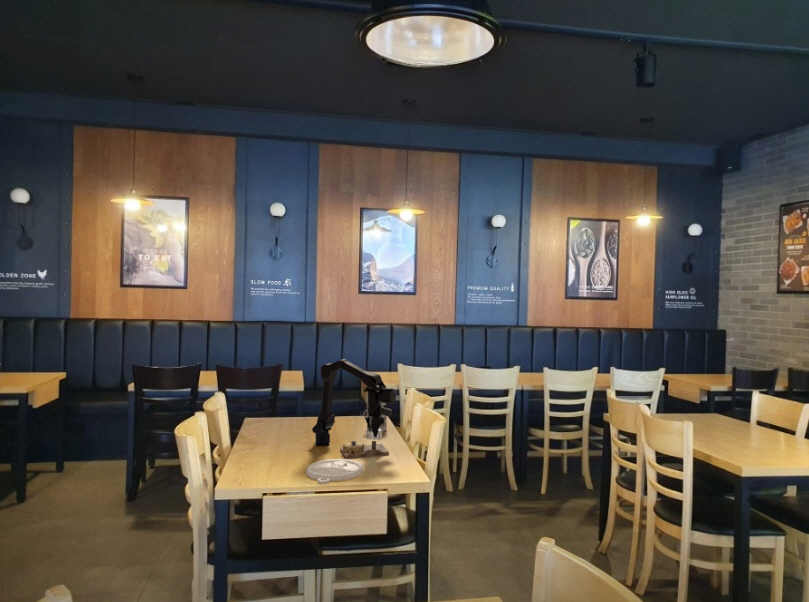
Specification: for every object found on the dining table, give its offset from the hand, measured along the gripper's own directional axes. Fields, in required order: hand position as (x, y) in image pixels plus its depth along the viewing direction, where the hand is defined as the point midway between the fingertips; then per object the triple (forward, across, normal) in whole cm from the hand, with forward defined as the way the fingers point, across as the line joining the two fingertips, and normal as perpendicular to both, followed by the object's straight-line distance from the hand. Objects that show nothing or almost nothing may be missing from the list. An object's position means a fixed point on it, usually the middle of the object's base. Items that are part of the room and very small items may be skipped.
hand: (373, 435), depth 265 cm
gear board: (+8, 0, +4) cm, 9 cm away
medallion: (+8, -26, +23) cm, 35 cm away
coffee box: (+8, +40, -10) cm, 42 cm away
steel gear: (+1, 0, 0) cm, 1 cm away
